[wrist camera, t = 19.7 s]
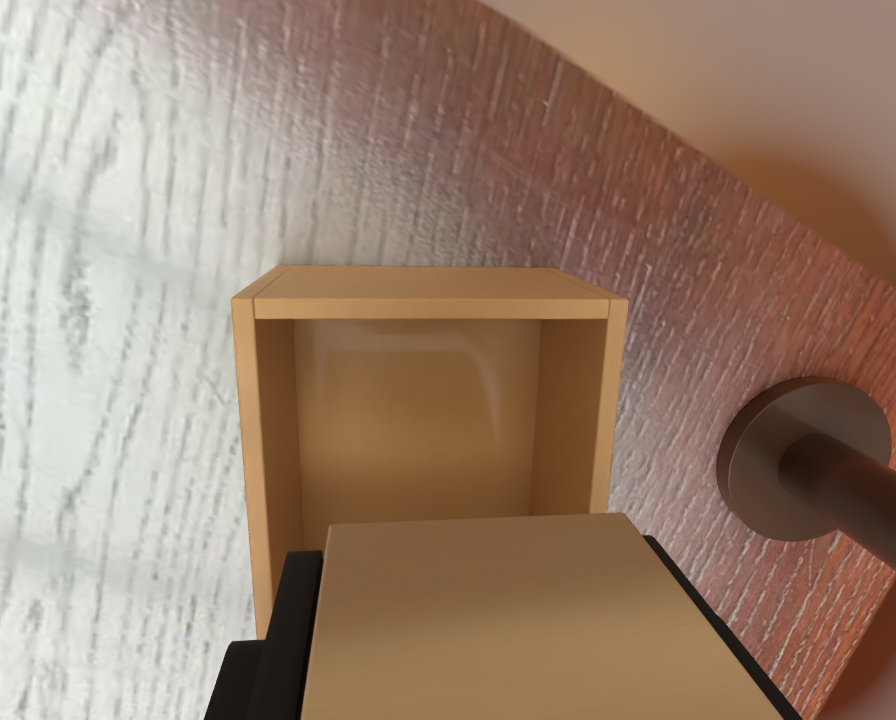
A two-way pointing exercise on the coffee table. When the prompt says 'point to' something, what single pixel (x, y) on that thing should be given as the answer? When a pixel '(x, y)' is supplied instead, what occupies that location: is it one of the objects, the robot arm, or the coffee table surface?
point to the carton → (419, 400)
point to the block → (514, 627)
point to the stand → (812, 465)
